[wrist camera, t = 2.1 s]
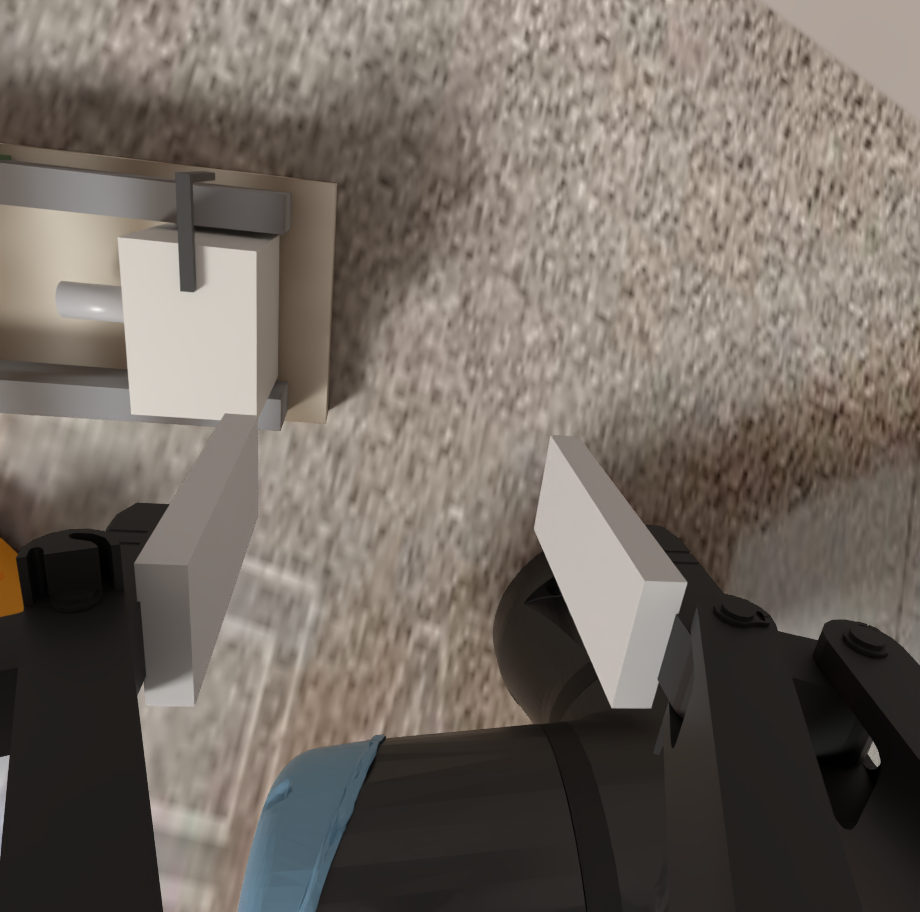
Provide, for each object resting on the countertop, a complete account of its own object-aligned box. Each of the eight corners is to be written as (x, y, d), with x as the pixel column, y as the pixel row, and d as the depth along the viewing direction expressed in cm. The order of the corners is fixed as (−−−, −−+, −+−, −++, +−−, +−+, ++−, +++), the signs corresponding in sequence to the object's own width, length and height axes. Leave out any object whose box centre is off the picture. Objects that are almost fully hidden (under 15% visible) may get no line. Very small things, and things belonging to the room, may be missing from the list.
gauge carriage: (280, 178, 31) (254, 181, 24) (277, 376, 35) (255, 426, 28) (70, 152, 30) (-17, 149, 23) (90, 361, 33) (21, 410, 27)
